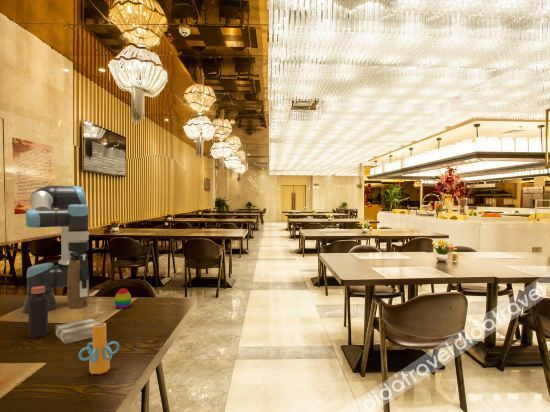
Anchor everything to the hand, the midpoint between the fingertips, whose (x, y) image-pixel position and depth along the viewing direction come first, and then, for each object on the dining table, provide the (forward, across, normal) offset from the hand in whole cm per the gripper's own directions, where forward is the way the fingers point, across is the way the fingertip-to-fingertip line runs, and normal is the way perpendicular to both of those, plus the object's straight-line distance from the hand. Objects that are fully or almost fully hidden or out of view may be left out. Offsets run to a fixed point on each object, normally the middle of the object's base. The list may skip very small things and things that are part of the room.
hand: (78, 294), depth 153 cm
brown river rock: (+5, 0, 0) cm, 5 cm away
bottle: (+17, +12, +12) cm, 24 cm away
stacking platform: (+17, 0, 0) cm, 17 cm away
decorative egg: (+17, +29, -30) cm, 45 cm away
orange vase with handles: (+17, -41, +6) cm, 45 cm away
